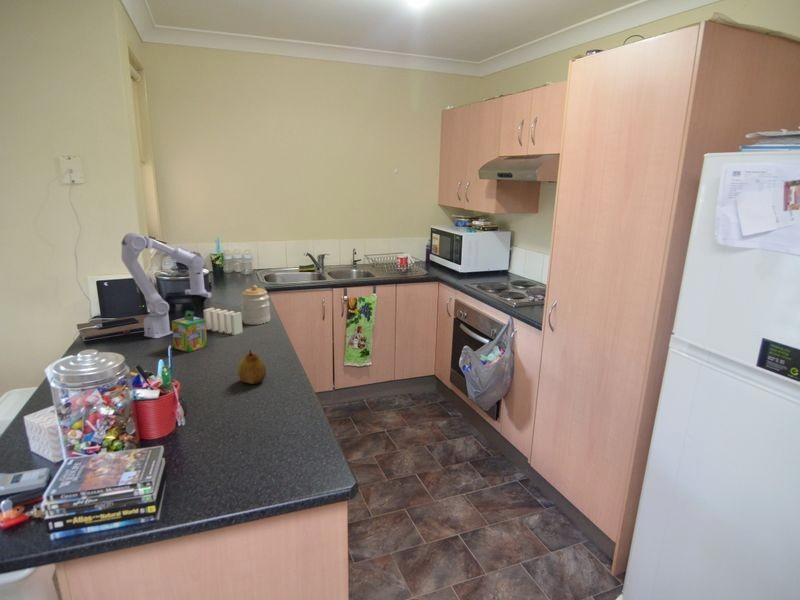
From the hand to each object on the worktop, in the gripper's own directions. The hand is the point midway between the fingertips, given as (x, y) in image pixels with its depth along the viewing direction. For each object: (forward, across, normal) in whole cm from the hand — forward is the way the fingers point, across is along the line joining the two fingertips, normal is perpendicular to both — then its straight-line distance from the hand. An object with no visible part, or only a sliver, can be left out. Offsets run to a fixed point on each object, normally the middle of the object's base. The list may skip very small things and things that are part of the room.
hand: (199, 311), depth 212 cm
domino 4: (+7, -18, 0) cm, 19 cm away
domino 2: (+7, -10, 0) cm, 12 cm away
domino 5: (+7, -22, 0) cm, 23 cm away
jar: (+8, -16, -18) cm, 25 cm away
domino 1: (+7, -6, 0) cm, 9 cm away
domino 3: (+7, -14, 0) cm, 16 cm away
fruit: (+7, -64, +36) cm, 74 cm away
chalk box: (+7, -19, +22) cm, 30 cm away
